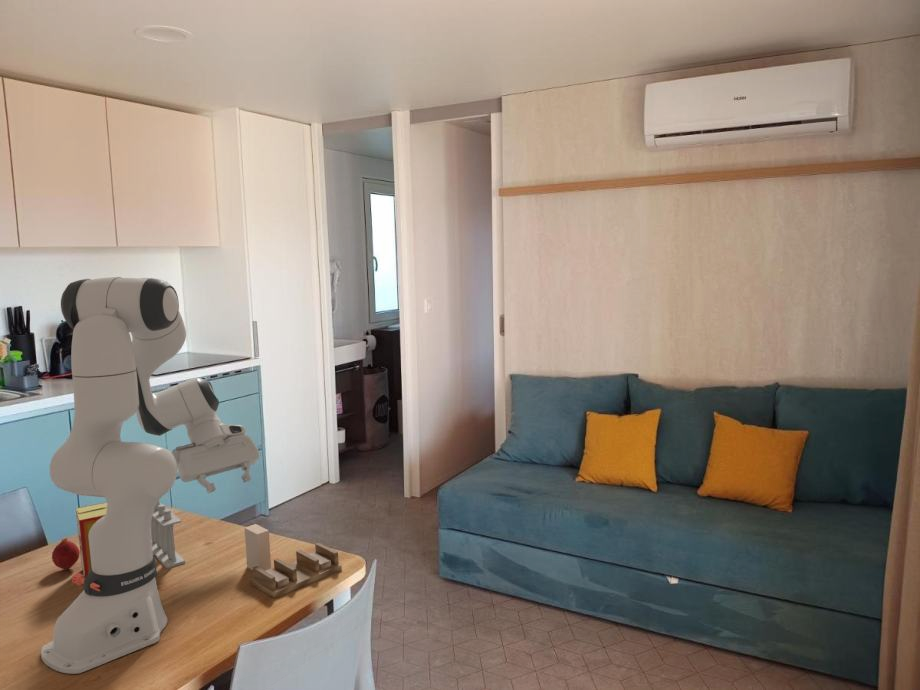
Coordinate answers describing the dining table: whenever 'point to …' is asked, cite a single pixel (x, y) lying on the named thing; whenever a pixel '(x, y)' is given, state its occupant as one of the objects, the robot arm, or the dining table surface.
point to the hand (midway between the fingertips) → (230, 486)
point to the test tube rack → (164, 536)
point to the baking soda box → (87, 530)
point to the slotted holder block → (296, 571)
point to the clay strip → (257, 547)
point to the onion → (65, 554)
